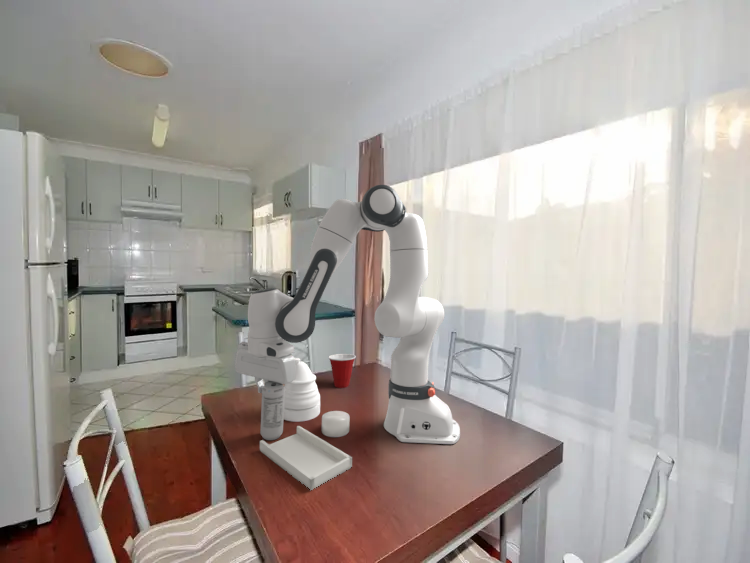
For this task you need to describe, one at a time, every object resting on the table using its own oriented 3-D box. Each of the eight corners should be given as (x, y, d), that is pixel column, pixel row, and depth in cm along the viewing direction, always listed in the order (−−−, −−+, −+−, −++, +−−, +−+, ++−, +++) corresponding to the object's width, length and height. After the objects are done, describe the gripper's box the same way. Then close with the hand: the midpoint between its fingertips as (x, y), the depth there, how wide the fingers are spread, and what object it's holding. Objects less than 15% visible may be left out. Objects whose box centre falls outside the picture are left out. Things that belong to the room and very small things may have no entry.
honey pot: (297, 425, 102) (298, 366, 101) (271, 413, 110) (271, 358, 109) (328, 411, 113) (329, 357, 112) (302, 401, 120) (302, 350, 119)
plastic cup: (350, 379, 144) (350, 350, 143) (359, 388, 134) (359, 357, 133) (324, 382, 139) (325, 353, 139) (332, 391, 129) (332, 360, 129)
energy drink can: (284, 429, 99) (286, 379, 98) (281, 441, 94) (283, 388, 92) (262, 429, 99) (264, 379, 97) (258, 441, 93) (260, 388, 91)
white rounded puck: (352, 425, 103) (352, 412, 103) (344, 438, 95) (344, 424, 95) (327, 422, 105) (327, 409, 105) (317, 434, 97) (317, 421, 97)
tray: (259, 450, 89) (259, 441, 89) (298, 434, 97) (299, 425, 97) (311, 490, 74) (311, 479, 74) (352, 467, 82) (352, 457, 82)
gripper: (229, 342, 100) (229, 389, 100) (283, 352, 90) (282, 404, 91) (246, 338, 105) (246, 382, 106) (299, 347, 96) (298, 396, 97)
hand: (263, 392), depth 98 cm, fingers closed
